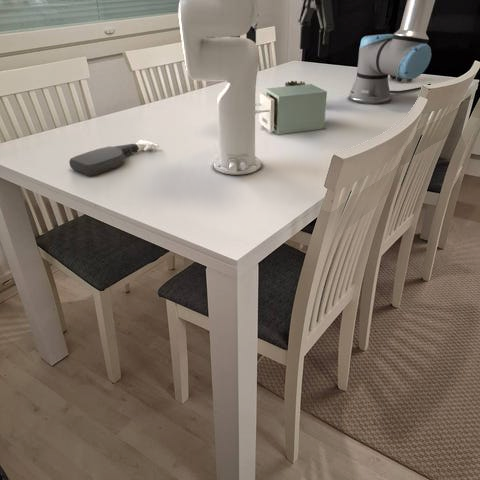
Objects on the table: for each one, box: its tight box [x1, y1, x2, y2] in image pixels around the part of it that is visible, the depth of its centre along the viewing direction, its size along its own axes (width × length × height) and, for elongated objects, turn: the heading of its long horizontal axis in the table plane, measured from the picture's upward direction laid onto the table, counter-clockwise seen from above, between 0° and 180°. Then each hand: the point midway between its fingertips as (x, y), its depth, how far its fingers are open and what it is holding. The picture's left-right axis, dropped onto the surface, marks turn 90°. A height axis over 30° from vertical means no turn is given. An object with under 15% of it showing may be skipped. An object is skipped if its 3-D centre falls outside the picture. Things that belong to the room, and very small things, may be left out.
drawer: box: [255, 92, 278, 133], centre depth 143 cm, size 21×10×10 cm, turn 108°
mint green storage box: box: [265, 83, 328, 135], centre depth 144 cm, size 16×11×12 cm
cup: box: [284, 80, 306, 87], centre depth 167 cm, size 8×7×8 cm
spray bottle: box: [68, 139, 160, 177], centre depth 124 cm, size 3×11×24 cm
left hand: (243, 46), depth 138 cm, fingers open, 9 cm apart
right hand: (313, 52), depth 134 cm, fingers open, 13 cm apart
